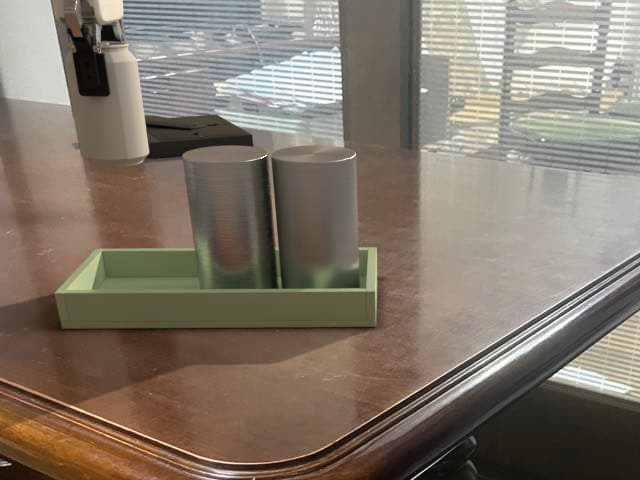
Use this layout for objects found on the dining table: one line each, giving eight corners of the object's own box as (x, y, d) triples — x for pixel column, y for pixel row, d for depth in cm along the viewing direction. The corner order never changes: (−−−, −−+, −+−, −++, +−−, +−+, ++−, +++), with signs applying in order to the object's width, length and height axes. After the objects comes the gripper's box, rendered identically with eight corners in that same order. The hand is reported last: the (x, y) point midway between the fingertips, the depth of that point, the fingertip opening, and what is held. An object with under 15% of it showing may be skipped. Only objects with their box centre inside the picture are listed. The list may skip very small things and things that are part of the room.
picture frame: (126, 135, 147) (152, 158, 131) (123, 116, 145) (149, 137, 130) (218, 127, 152) (253, 149, 137) (216, 109, 151) (251, 129, 135)
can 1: (135, 153, 104) (119, 37, 98) (160, 164, 99) (145, 42, 93) (72, 159, 100) (51, 39, 94) (96, 170, 96) (75, 45, 89)
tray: (62, 329, 74) (53, 293, 72) (101, 280, 84) (95, 248, 83) (376, 327, 74) (375, 291, 73) (377, 279, 85) (376, 247, 83)
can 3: (278, 309, 76) (266, 162, 69) (286, 283, 82) (275, 145, 75) (359, 308, 76) (354, 162, 70) (360, 282, 82) (356, 145, 75)
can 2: (195, 309, 76) (174, 162, 69) (208, 283, 82) (190, 145, 75) (275, 309, 76) (262, 162, 69) (283, 283, 82) (272, 145, 75)
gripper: (63, -105, 93) (93, 81, 103) (4, -116, 79) (45, 101, 89) (134, -103, 93) (157, 82, 103) (88, -115, 79) (120, 102, 89)
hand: (105, 89), depth 96 cm, fingers closed on can 1, 7 cm apart
